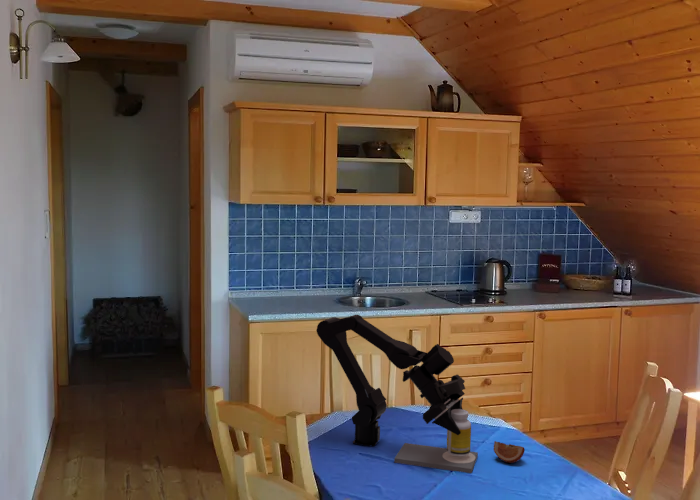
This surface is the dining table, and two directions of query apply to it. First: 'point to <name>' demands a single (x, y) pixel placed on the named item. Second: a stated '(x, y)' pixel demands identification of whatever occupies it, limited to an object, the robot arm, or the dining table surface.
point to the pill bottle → (461, 442)
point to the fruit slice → (508, 452)
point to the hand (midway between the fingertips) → (463, 430)
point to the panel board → (435, 458)
